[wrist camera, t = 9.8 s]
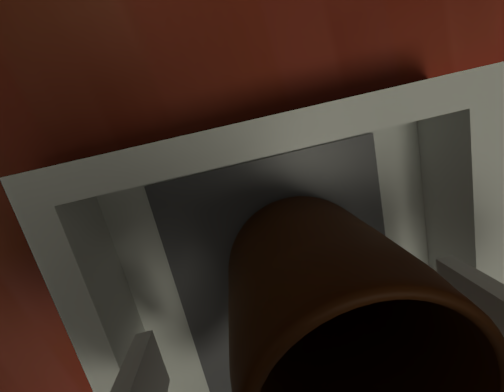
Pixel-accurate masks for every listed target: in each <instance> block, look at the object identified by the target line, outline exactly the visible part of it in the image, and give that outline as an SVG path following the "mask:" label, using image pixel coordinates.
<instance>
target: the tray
mask: <svg viewBox="0 0 504 392" xmlns="http://www.w3.org/2000/svg"><path fill="white" fill-rule="evenodd" d="M0 181H1V183H2V185H3V188H4V190H5V192H6V195H7V197H8V199H9V201H10V204H11V206H12V208H13V210H14V213H15V215H16V217H17V220H18V222H19V224H20V226H21V229H22V231H23V233H24V235H25V238H26V240H27V242H28V245H29V247H30V249H31V251H32V254H33V256H34V258H35V260H36V263H37V265H38V267H39V270H40V272H41V274H42V276H43V279H44V281H45V283H46V285H47V288H48V290H49V292H50V295H51V297H52V299H53V301H54V304H55V306H56V308H57V310H58V313H59V315H60V317H61V320H62V322H63V324H64V326H65V329H66V331H67V333H68V335H69V338H70V340H71V342H72V345H73V347H74V349H75V351H76V354H77V356H78V358H79V361H80V363H81V365H82V367H83V370H84V372H85V374H86V376H87V379H88V381H89V383H90V386H91V388H92V390H93V392H110V391H111V389H112V386H113V384H114V382H115V379H116V377H117V375H118V373H119V370H120V368H121V366H122V363H123V361H124V359H125V357H126V354H127V352H128V350H129V347H130V345H131V343H132V341H133V338H134V336H135V334H138V333H142V332H146V331H150V330H153V333H154V336H155V339H156V342H157V344H158V347H159V350H160V353H161V356H162V359H163V361H164V364H165V367H166V370H167V373H168V375H169V378H170V383H169V387H168V392H232V390H231V382H230V371H229V324H228V295H229V286H228V270H229V258H230V252H231V249H232V246H233V243H234V241H235V239H236V236H237V234H238V233H239V231H240V230H241V228H242V226H243V225H244V224H245V223H246V222H247V220H248V219H249V218H250V217H251V216H252V215H254V214H255V213H256V212H257V211H259V210H260V209H261V208H263V207H264V206H266V205H268V204H270V203H272V202H275V201H277V200H280V199H284V198H288V197H296V196H309V197H316V198H321V199H324V200H328V201H330V202H332V203H334V204H337V205H339V206H340V207H342V208H344V209H345V210H347V211H348V212H350V213H351V214H353V215H354V216H356V217H357V218H359V219H360V220H362V221H363V222H365V223H366V224H368V225H370V226H371V227H373V228H374V229H376V230H377V231H379V232H380V233H382V234H383V235H385V236H386V237H388V238H389V239H390V240H392V241H393V242H395V243H396V244H398V245H399V246H401V247H402V248H404V249H405V250H407V251H408V252H409V253H411V254H412V255H414V256H415V257H417V258H418V259H420V260H421V261H423V262H424V263H426V264H427V265H428V266H430V267H431V268H432V269H434V270H435V271H436V272H437V266H436V259H437V258H441V257H445V256H449V255H453V256H455V257H457V258H458V259H460V260H462V261H464V262H465V263H467V264H469V265H471V266H472V267H474V268H476V269H478V270H480V271H481V272H483V273H485V274H487V275H488V276H490V277H492V278H494V279H495V280H497V281H499V282H501V283H502V284H504V62H499V63H495V64H491V65H486V66H482V67H478V68H473V69H469V70H465V71H460V72H456V73H452V74H447V75H443V76H439V77H434V78H430V79H426V80H421V81H417V82H413V83H408V84H404V85H400V86H395V87H391V88H387V89H382V90H378V91H374V92H369V93H365V94H361V95H356V96H352V97H348V98H343V99H339V100H335V101H330V102H326V103H322V104H317V105H313V106H309V107H304V108H300V109H296V110H291V111H287V112H283V113H278V114H274V115H270V116H265V117H261V118H257V119H252V120H248V121H244V122H239V123H235V124H231V125H226V126H222V127H218V128H213V129H209V130H205V131H200V132H196V133H192V134H187V135H183V136H179V137H174V138H170V139H166V140H161V141H157V142H153V143H148V144H144V145H140V146H135V147H131V148H127V149H122V150H118V151H114V152H109V153H105V154H101V155H96V156H92V157H88V158H83V159H79V160H75V161H70V162H66V163H62V164H57V165H53V166H49V167H44V168H40V169H36V170H31V171H27V172H23V173H18V174H14V175H10V176H5V177H1V178H0Z"/></svg>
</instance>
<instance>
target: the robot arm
mask: <svg viewBox="0 0 504 392" xmlns="http://www.w3.org/2000/svg"><path fill="white" fill-rule="evenodd" d="M436 266H437V273H438V274H440V275H441V276H442V277H443V278H444V279H445V280H446V281H448V282H449V283H450V284H451V285H452V286H453V287H455V288H456V289H457V290H458V291H459V292H461V293H462V294H463V295H464V296H466V297H467V298H468V299H469V300H471V301H472V302H473V303H474V304H475V305H477V306H478V307H479V308H480V309H481V310H482V311H483V312H485V313H486V314H487V315H488V316H489V317H490V318H491V319H492V321H493V322H494V323H495V324H496V326H497V327H498V328H499V330H500V332H501V333H502V335H503V337H504V284H502V283H501V282H499V281H497V280H495V279H494V278H492V277H490V276H488V275H487V274H485V273H483V272H481V271H480V270H478V269H476V268H474V267H472V266H471V265H469V264H467V263H465V262H464V261H462V260H460V259H458V258H457V257H455V256H453V255H449V256H445V257H441V258H437V259H436ZM169 383H170V378H169V375H168V373H167V370H166V367H165V364H164V361H163V359H162V356H161V353H160V350H159V347H158V344H157V342H156V339H155V336H154V333H153V330H150V331H146V332H142V333H138V334H135V336H134V338H133V341H132V343H131V345H130V347H129V350H128V352H127V354H126V357H125V359H124V361H123V363H122V366H121V368H120V370H119V373H118V375H117V377H116V379H115V382H114V384H113V386H112V389H111V391H110V392H168V387H169Z"/></svg>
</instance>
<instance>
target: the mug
mask: <svg viewBox="0 0 504 392" xmlns="http://www.w3.org/2000/svg"><path fill="white" fill-rule="evenodd" d="M228 286H229V295H228V324H229V371H230V382H231V390H232V392H504V337H503V335H502V333H501V332H500V330H499V328H498V327H497V326H496V324H495V323H494V322H493V321H492V319H491V318H490V317H489V316H488V315H487V314H486V313H485V312H483V311H482V310H481V309H480V308H479V307H478V306H477V305H475V304H474V303H473V302H472V301H471V300H469V299H468V298H467V297H466V296H464V295H463V294H462V293H461V292H459V291H458V290H457V289H456V288H455V287H453V286H452V285H451V284H450V283H449V282H448V281H446V280H445V279H444V278H443V277H442V276H441V275H440V274H438V273H437V272H436V271H435V270H434V269H432V268H431V267H430V266H428V265H427V264H426V263H424V262H423V261H421V260H420V259H418V258H417V257H415V256H414V255H412V254H411V253H409V252H408V251H407V250H405V249H404V248H402V247H401V246H399V245H398V244H396V243H395V242H393V241H392V240H390V239H389V238H388V237H386V236H385V235H383V234H382V233H380V232H379V231H377V230H376V229H374V228H373V227H371V226H370V225H368V224H366V223H365V222H363V221H362V220H360V219H359V218H357V217H356V216H354V215H353V214H351V213H350V212H348V211H347V210H345V209H344V208H342V207H340V206H339V205H337V204H334V203H332V202H330V201H328V200H324V199H321V198H316V197H309V196H296V197H288V198H284V199H280V200H277V201H275V202H272V203H270V204H268V205H266V206H264V207H263V208H261V209H260V210H259V211H257V212H256V213H255V214H254V215H252V216H251V217H250V218H249V219H248V220H247V222H246V223H245V224H244V225H243V226H242V228H241V230H240V231H239V233H238V234H237V236H236V239H235V241H234V243H233V246H232V249H231V252H230V258H229V270H228Z"/></svg>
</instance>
